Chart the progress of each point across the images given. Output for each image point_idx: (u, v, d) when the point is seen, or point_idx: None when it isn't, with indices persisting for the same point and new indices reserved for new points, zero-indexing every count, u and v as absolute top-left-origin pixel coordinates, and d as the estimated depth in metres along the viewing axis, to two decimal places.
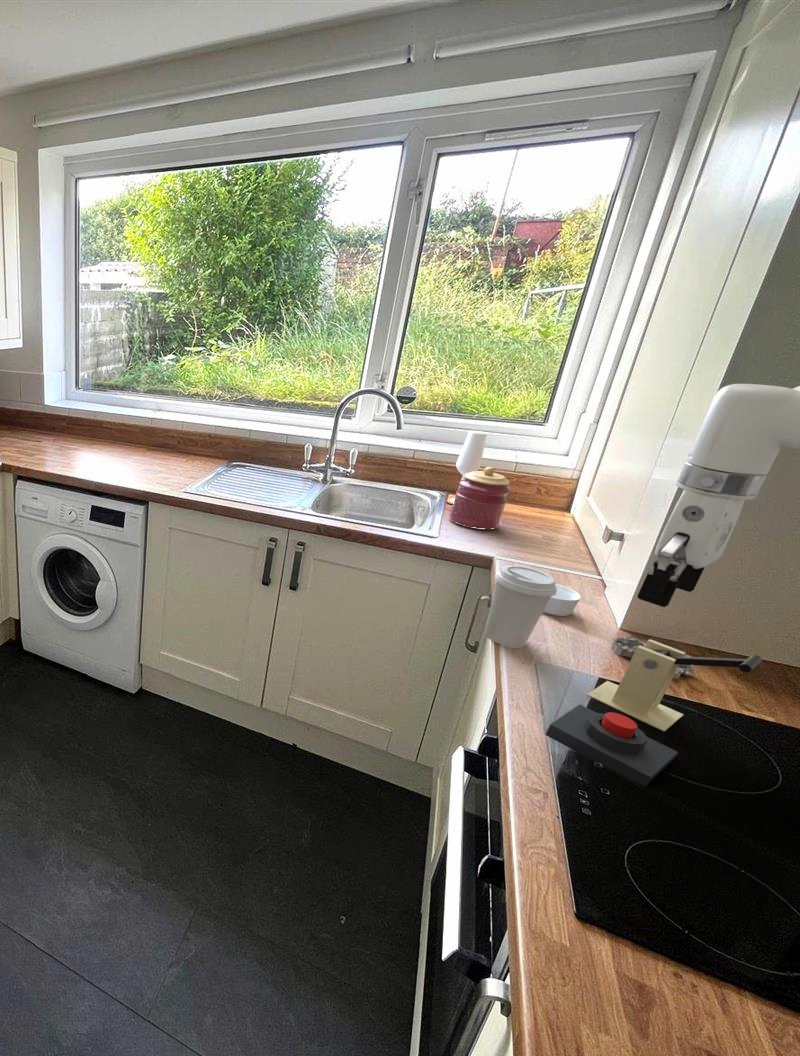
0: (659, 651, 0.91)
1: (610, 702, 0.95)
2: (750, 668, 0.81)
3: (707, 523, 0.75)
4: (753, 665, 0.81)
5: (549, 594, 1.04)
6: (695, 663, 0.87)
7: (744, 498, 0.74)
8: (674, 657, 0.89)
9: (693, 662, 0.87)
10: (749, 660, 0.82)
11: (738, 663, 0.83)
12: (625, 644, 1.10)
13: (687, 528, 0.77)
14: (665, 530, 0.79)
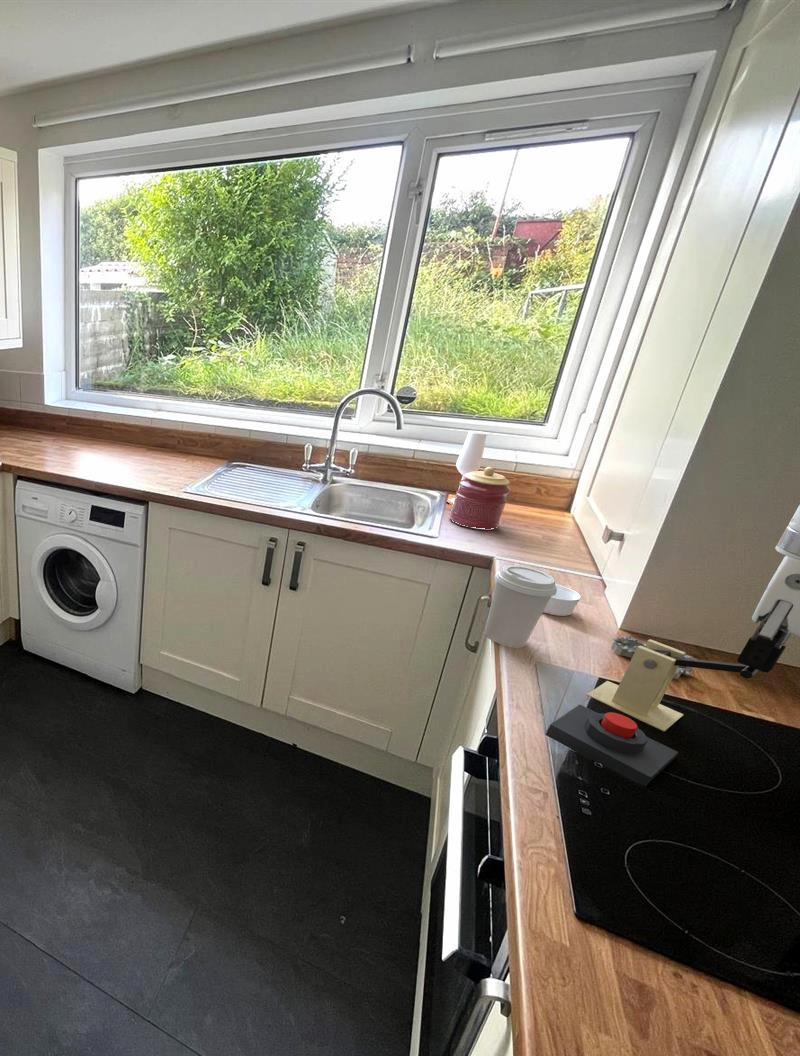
0: (660, 651, 0.91)
1: (610, 702, 0.95)
2: (751, 674, 0.81)
3: None
4: (755, 671, 0.81)
5: (549, 594, 1.04)
6: (695, 665, 0.87)
7: None
8: (675, 658, 0.89)
9: (693, 664, 0.87)
10: None
11: (739, 668, 0.83)
12: (625, 644, 1.10)
13: (790, 596, 0.75)
14: (765, 596, 0.77)
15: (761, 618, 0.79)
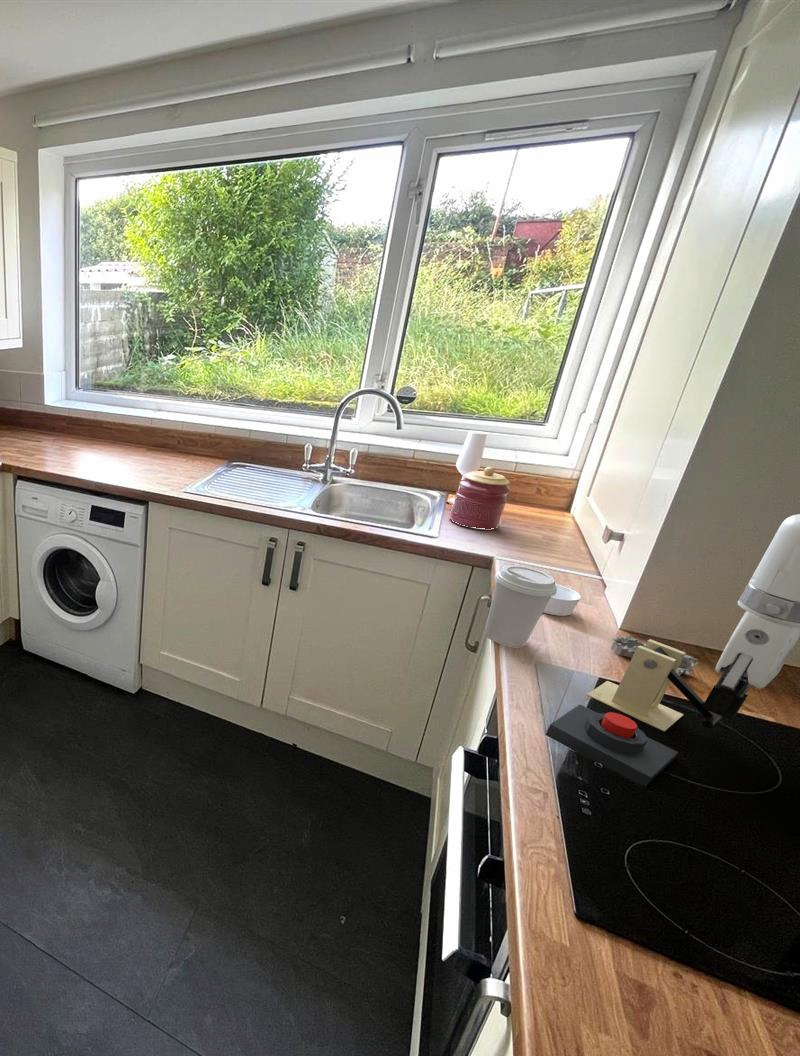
0: None
1: (610, 702, 0.95)
2: (710, 727, 0.85)
3: (771, 648, 0.77)
4: (714, 724, 0.86)
5: (549, 594, 1.04)
6: (678, 686, 0.89)
7: None
8: (671, 670, 0.90)
9: (678, 685, 0.89)
10: (717, 719, 0.86)
11: (706, 713, 0.87)
12: (625, 644, 1.10)
13: (750, 650, 0.79)
14: (727, 649, 0.81)
15: (724, 668, 0.83)
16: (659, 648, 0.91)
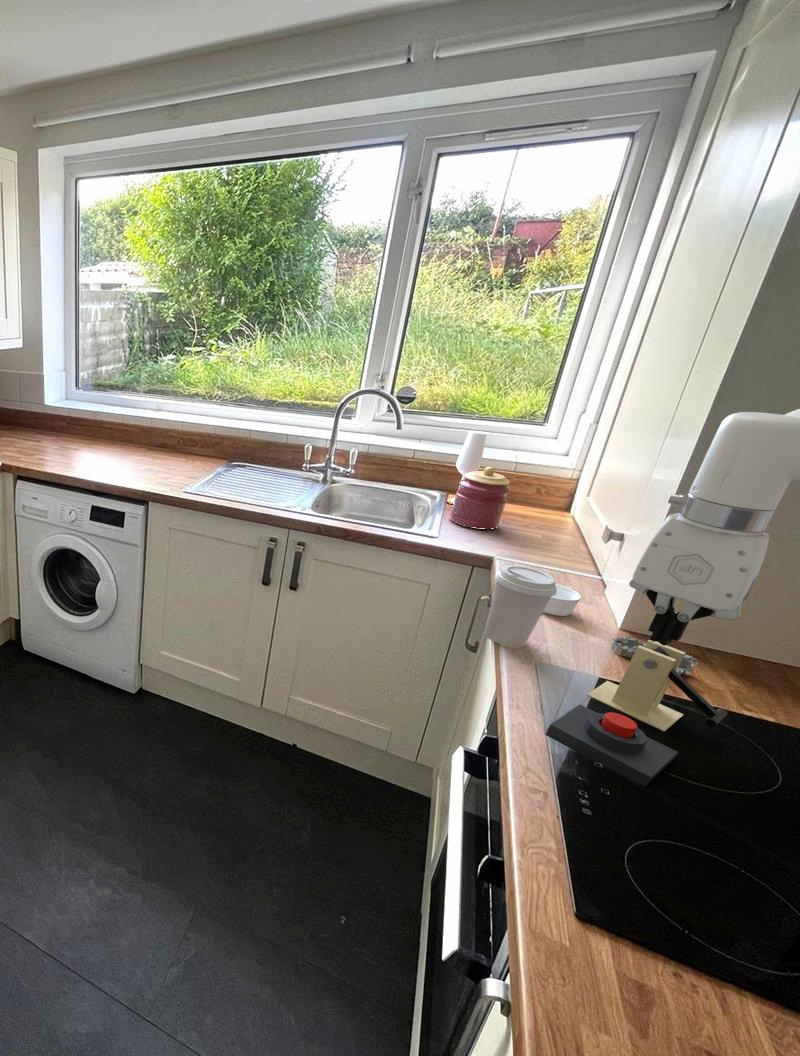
0: None
1: (610, 702, 0.95)
2: (714, 726, 0.85)
3: None
4: (718, 723, 0.86)
5: (549, 594, 1.04)
6: (680, 686, 0.89)
7: (689, 522, 0.72)
8: (671, 670, 0.90)
9: (679, 684, 0.89)
10: (720, 717, 0.86)
11: (709, 712, 0.87)
12: (625, 644, 1.10)
13: None
14: None
15: None
16: (658, 648, 0.91)
